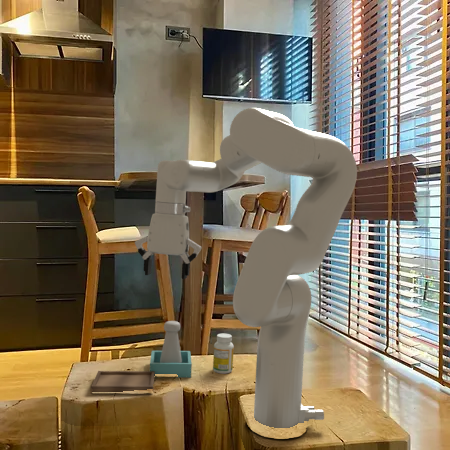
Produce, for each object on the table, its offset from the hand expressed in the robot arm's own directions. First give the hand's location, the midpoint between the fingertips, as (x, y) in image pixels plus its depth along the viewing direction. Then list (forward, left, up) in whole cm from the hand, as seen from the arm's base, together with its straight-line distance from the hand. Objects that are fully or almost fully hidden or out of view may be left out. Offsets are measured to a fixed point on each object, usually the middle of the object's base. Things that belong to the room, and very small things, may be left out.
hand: (166, 276), depth 124 cm
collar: (-2, -3, -26) cm, 26 cm away
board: (+9, +8, -26) cm, 28 cm away
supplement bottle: (-16, -3, -26) cm, 31 cm away
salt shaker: (-2, -3, -26) cm, 26 cm away
